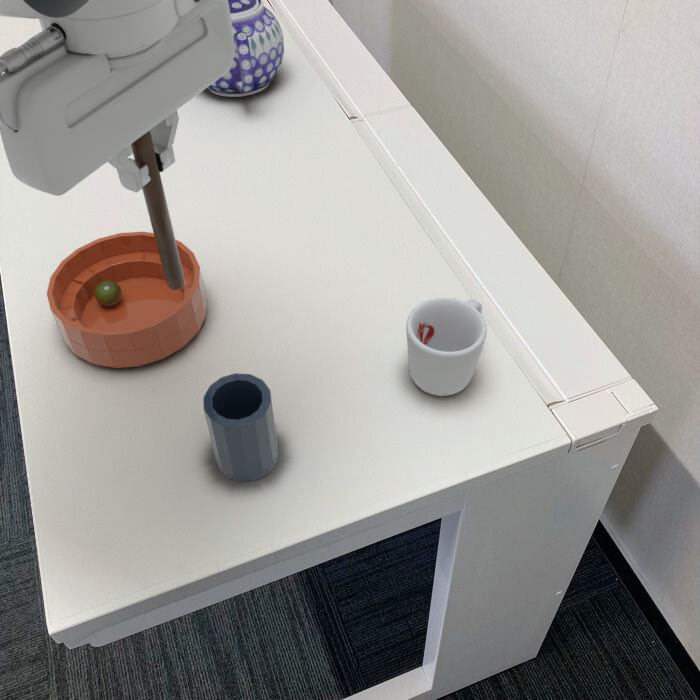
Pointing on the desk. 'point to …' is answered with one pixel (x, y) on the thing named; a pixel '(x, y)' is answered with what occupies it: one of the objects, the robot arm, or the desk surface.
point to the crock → (241, 426)
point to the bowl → (126, 301)
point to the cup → (444, 344)
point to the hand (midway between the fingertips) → (149, 175)
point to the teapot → (251, 50)
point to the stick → (159, 213)
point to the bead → (108, 293)
